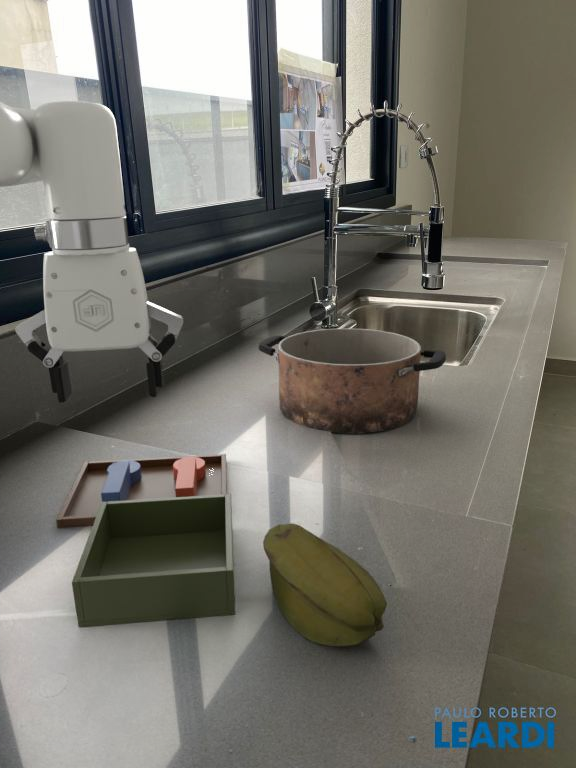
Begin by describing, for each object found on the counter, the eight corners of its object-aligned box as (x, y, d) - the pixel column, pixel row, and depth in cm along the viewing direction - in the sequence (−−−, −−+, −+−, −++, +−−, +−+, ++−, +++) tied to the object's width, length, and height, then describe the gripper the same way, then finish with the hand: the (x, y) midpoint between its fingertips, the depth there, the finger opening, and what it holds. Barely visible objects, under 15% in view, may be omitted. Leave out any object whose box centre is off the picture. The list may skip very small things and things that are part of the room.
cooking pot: (234, 419, 95) (231, 353, 91) (289, 378, 114) (289, 322, 111) (426, 449, 83) (431, 375, 80) (451, 397, 103) (456, 336, 99)
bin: (78, 627, 51) (71, 582, 49) (106, 539, 63) (101, 501, 62) (235, 614, 52) (233, 570, 51) (232, 531, 65) (230, 493, 63)
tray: (57, 531, 65) (55, 519, 64) (85, 471, 78) (84, 461, 78) (227, 520, 67) (227, 508, 66) (226, 463, 80) (225, 453, 80)
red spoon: (168, 513, 67) (165, 489, 66) (175, 468, 78) (173, 447, 77) (204, 510, 68) (202, 487, 67) (206, 467, 78) (204, 445, 77)
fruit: (237, 650, 48) (233, 580, 46) (274, 562, 59) (272, 502, 57) (381, 673, 46) (385, 601, 44) (392, 577, 57) (395, 515, 55)
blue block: (94, 517, 67) (91, 493, 66) (111, 472, 77) (109, 451, 76) (131, 515, 67) (128, 491, 66) (143, 470, 77) (141, 449, 76)
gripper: (-13, 243, 57) (18, 413, 62) (173, 237, 58) (187, 402, 64) (13, 236, 64) (39, 389, 69) (178, 231, 65) (190, 380, 71)
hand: (110, 395), depth 67 cm, fingers open, 9 cm apart
